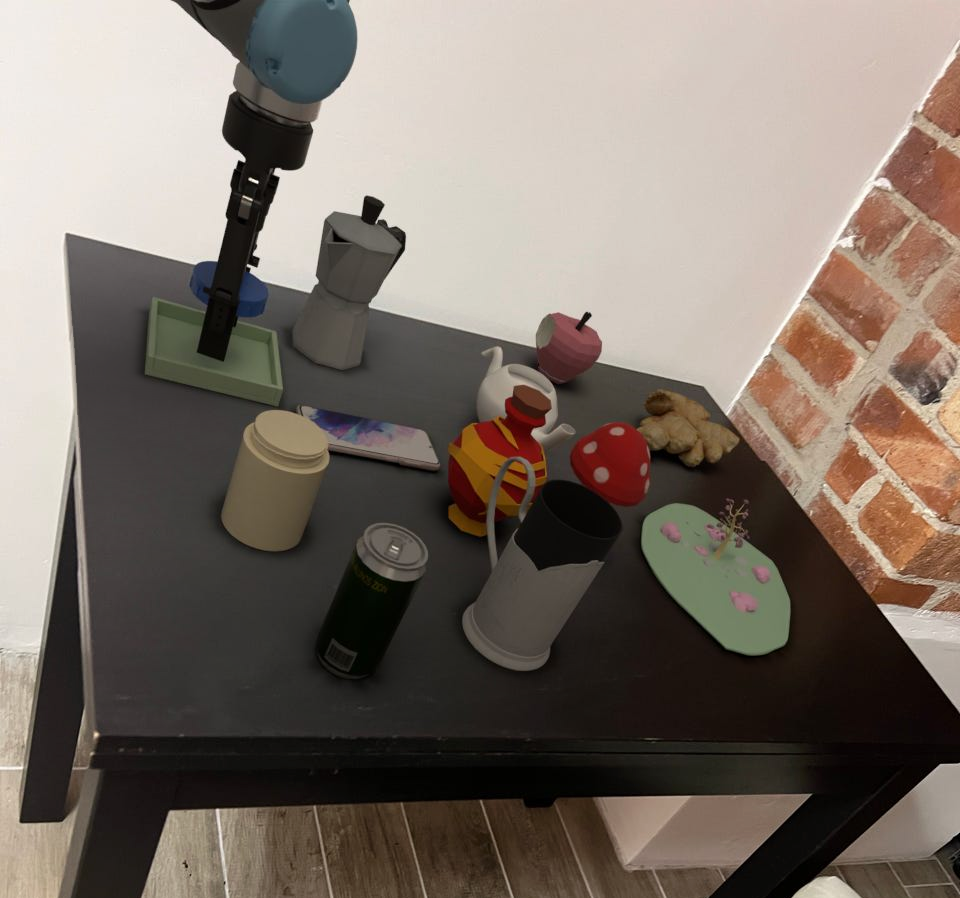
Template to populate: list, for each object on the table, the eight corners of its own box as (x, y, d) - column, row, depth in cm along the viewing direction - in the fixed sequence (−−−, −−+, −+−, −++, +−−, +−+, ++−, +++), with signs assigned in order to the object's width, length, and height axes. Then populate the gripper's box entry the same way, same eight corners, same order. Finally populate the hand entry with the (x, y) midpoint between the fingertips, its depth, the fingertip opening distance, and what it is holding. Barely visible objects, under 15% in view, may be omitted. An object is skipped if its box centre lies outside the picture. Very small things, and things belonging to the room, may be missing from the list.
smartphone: (296, 402, 95) (426, 429, 102) (293, 410, 95) (424, 436, 102) (307, 441, 90) (442, 466, 97) (304, 449, 91) (439, 473, 98)
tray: (144, 374, 89) (148, 355, 88) (148, 314, 97) (152, 296, 96) (278, 407, 94) (283, 389, 93) (271, 347, 102) (276, 331, 101)
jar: (221, 543, 76) (249, 447, 70) (220, 490, 81) (245, 396, 75) (305, 557, 79) (338, 467, 73) (299, 506, 84) (330, 417, 78)
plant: (834, 672, 102) (888, 616, 97) (688, 648, 94) (737, 585, 88) (746, 530, 119) (788, 476, 113) (614, 499, 110) (652, 438, 105)
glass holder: (493, 677, 78) (572, 547, 69) (417, 564, 85) (480, 433, 76) (566, 663, 84) (648, 541, 74) (489, 559, 90) (556, 435, 81)
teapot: (494, 400, 116) (525, 336, 110) (567, 502, 105) (605, 436, 99) (430, 392, 110) (459, 323, 105) (500, 498, 99) (536, 428, 94)
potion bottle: (410, 483, 94) (465, 357, 85) (493, 492, 100) (554, 374, 91) (445, 552, 88) (509, 424, 79) (531, 557, 94) (600, 438, 85)
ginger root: (707, 424, 136) (738, 385, 130) (716, 502, 127) (750, 465, 121) (614, 390, 132) (641, 348, 125) (616, 469, 123) (646, 428, 117)
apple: (519, 351, 130) (549, 287, 124) (572, 370, 133) (604, 308, 127) (528, 385, 123) (561, 319, 117) (584, 404, 126) (619, 341, 120)
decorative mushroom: (523, 507, 100) (585, 391, 91) (591, 527, 103) (659, 417, 94) (535, 564, 93) (604, 445, 84) (608, 585, 96) (683, 472, 87)
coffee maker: (319, 379, 102) (370, 224, 91) (262, 336, 103) (305, 179, 92) (395, 357, 113) (448, 217, 102) (342, 318, 115) (389, 176, 104)
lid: (268, 296, 95) (273, 280, 94) (258, 326, 90) (263, 309, 88) (197, 269, 93) (201, 252, 92) (183, 298, 87) (186, 280, 86)
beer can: (368, 692, 71) (422, 581, 64) (304, 664, 70) (351, 549, 63) (385, 649, 75) (438, 541, 68) (324, 623, 74) (371, 510, 67)
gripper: (246, 62, 86) (197, 285, 100) (211, 119, 71) (159, 371, 85) (323, 97, 88) (265, 310, 102) (304, 159, 74) (239, 398, 88)
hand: (217, 337), depth 94 cm, fingers closed on lid, 7 cm apart
